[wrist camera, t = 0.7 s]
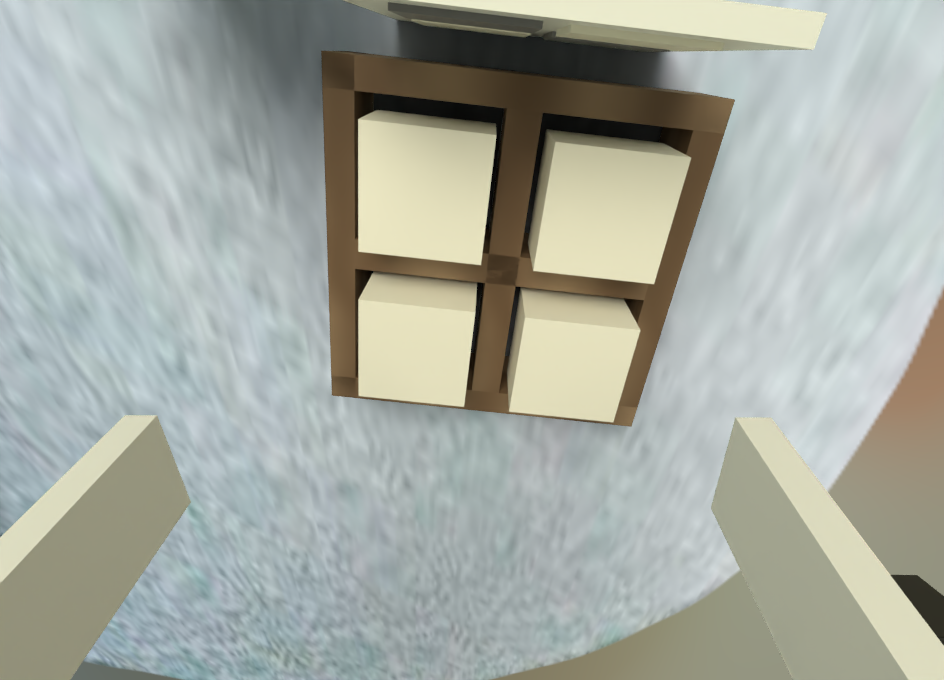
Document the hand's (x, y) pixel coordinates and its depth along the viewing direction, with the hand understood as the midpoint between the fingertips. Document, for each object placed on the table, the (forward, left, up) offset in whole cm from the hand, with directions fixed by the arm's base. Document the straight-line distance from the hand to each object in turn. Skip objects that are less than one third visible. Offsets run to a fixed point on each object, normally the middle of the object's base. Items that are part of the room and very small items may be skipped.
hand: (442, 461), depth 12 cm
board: (+2, -1, -20) cm, 21 cm away
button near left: (-2, +3, -17) cm, 17 cm away
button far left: (-2, -5, -17) cm, 18 cm away
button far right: (+6, -5, -17) cm, 19 cm away
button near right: (+6, +3, -17) cm, 18 cm away
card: (+2, +10, -20) cm, 23 cm away
